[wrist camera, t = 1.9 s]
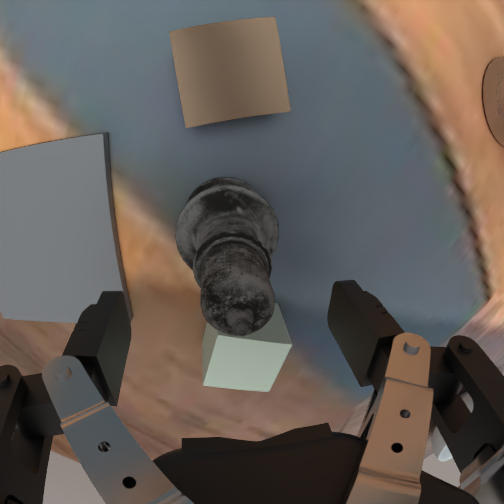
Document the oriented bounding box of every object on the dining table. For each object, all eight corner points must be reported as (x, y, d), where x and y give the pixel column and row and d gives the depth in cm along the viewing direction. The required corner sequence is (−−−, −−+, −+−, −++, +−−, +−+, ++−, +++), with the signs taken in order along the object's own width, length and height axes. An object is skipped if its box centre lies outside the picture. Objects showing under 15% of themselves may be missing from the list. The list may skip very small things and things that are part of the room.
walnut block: (259, 38, 16) (275, 16, 12) (271, 111, 18) (290, 111, 14) (179, 50, 16) (169, 31, 11) (192, 124, 18) (186, 128, 14)
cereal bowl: (494, 391, 42) (511, 415, 36) (427, 441, 45) (441, 468, 39) (497, 351, 35) (521, 380, 29) (414, 416, 38) (433, 450, 31)
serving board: (107, 132, 17) (103, 133, 16) (132, 316, 23) (130, 324, 22) (-31, 160, 16) (-38, 163, 15) (8, 312, 22) (3, 318, 21)
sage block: (277, 302, 25) (292, 344, 20) (259, 348, 26) (268, 391, 22) (215, 291, 23) (217, 334, 19) (202, 340, 25) (203, 385, 21)
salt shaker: (223, 271, 23) (240, 408, 12) (162, 216, 20) (119, 335, 10) (285, 216, 21) (358, 326, 11) (226, 153, 19) (248, 213, 8)
